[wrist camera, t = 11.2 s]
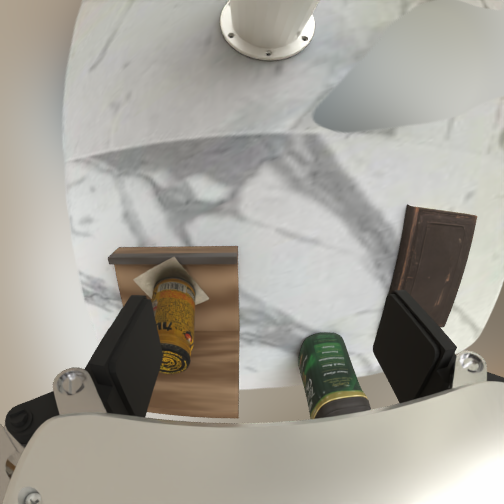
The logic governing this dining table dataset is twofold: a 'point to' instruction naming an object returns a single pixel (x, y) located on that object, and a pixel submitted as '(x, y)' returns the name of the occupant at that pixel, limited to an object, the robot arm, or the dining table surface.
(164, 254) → the rack
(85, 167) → the dining table surface
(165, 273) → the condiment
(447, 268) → the hardcover book
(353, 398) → the coffee jar
